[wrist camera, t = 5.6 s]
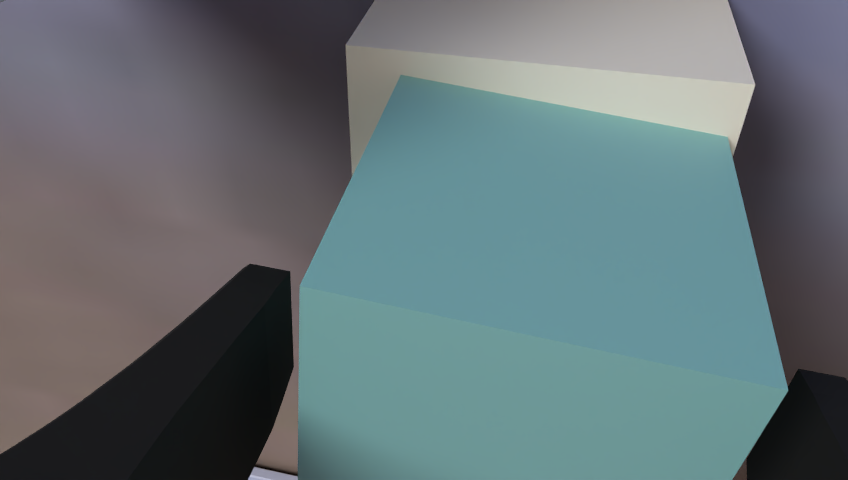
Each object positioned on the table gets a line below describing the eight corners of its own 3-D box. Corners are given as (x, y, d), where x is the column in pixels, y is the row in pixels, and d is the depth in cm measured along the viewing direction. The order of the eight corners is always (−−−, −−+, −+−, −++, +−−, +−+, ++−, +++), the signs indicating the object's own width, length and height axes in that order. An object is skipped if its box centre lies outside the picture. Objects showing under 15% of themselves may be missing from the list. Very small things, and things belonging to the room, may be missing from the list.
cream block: (655, 243, 18) (665, 371, 15) (401, 211, 18) (359, 326, 15) (723, -14, 14) (755, 84, 11) (400, -40, 15) (345, 45, 12)
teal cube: (633, 361, 15) (642, 622, 11) (377, 306, 15) (297, 539, 11) (727, 136, 11) (787, 389, 8) (401, 74, 12) (299, 286, 8)
